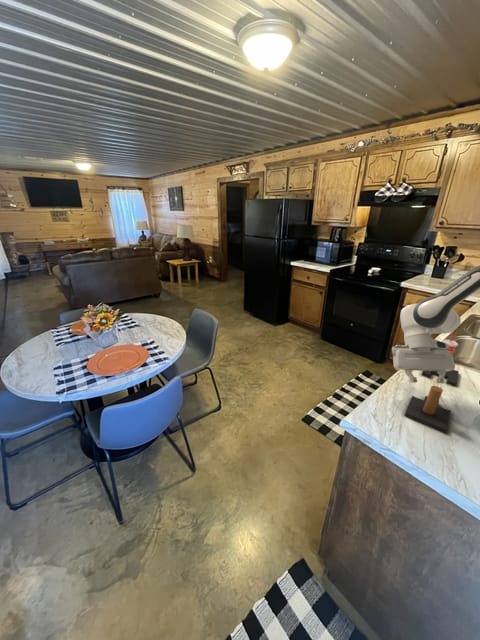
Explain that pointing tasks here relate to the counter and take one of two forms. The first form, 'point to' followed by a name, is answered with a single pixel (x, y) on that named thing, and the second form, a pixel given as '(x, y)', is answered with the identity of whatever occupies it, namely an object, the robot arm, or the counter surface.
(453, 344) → the beverage cup
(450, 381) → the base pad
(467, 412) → the counter surface
